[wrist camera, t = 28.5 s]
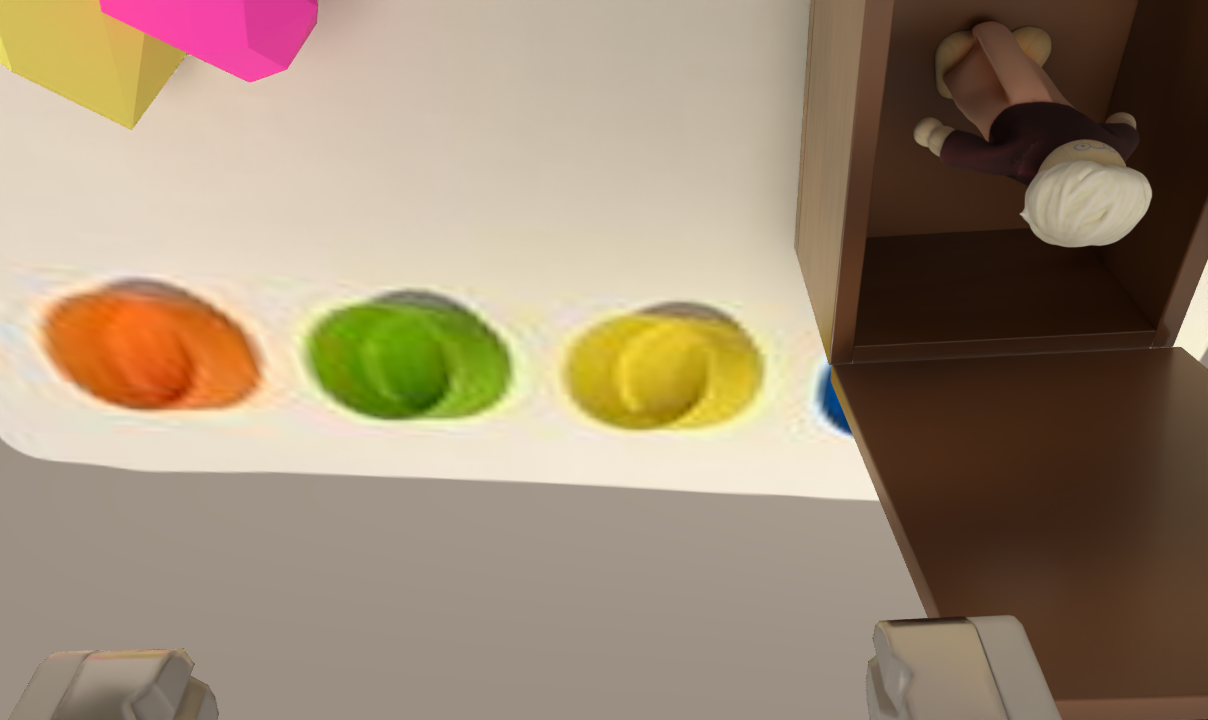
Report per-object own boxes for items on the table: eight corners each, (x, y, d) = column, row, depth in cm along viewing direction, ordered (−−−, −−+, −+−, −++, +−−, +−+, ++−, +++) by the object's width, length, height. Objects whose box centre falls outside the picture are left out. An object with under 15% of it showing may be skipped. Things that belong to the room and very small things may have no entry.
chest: (818, -123, 33) (871, -58, 26) (1193, -152, 33) (1350, -94, 26) (794, 247, 43) (828, 365, 36) (1081, 231, 42) (1173, 348, 35)
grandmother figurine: (1080, -8, 35) (1264, 134, 25) (1071, 86, 37) (1236, 251, 27) (875, 35, 36) (974, 189, 26) (879, 125, 38) (971, 296, 28)
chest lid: (975, 703, 21) (952, 843, 23) (1589, 684, 20) (1502, 830, 22) (831, 364, 36) (825, 469, 38) (1181, 345, 35) (1154, 455, 37)
